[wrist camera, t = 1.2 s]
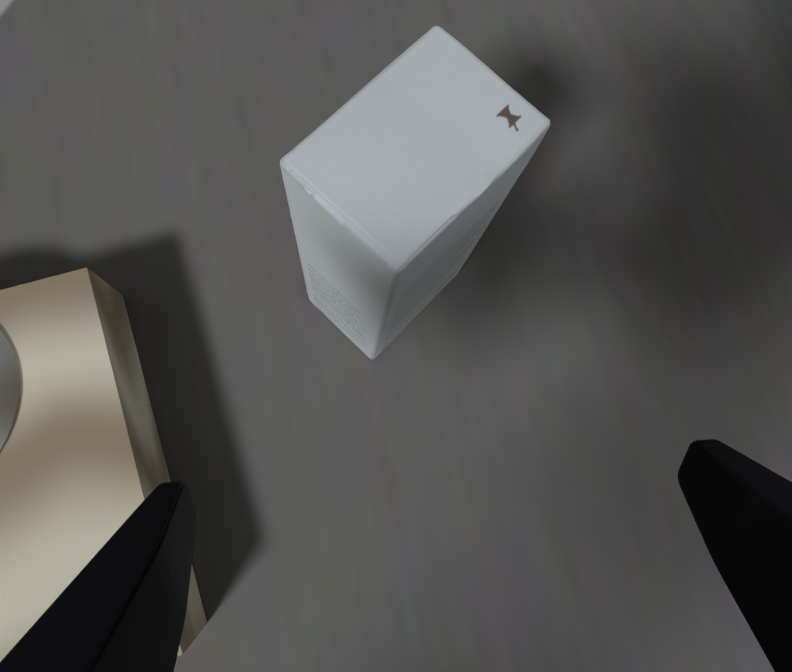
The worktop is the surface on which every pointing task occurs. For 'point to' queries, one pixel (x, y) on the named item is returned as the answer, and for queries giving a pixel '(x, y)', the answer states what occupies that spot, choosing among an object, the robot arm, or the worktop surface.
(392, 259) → the skincare box
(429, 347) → the worktop surface
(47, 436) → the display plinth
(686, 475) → the robot arm
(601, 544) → the worktop surface
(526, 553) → the worktop surface
